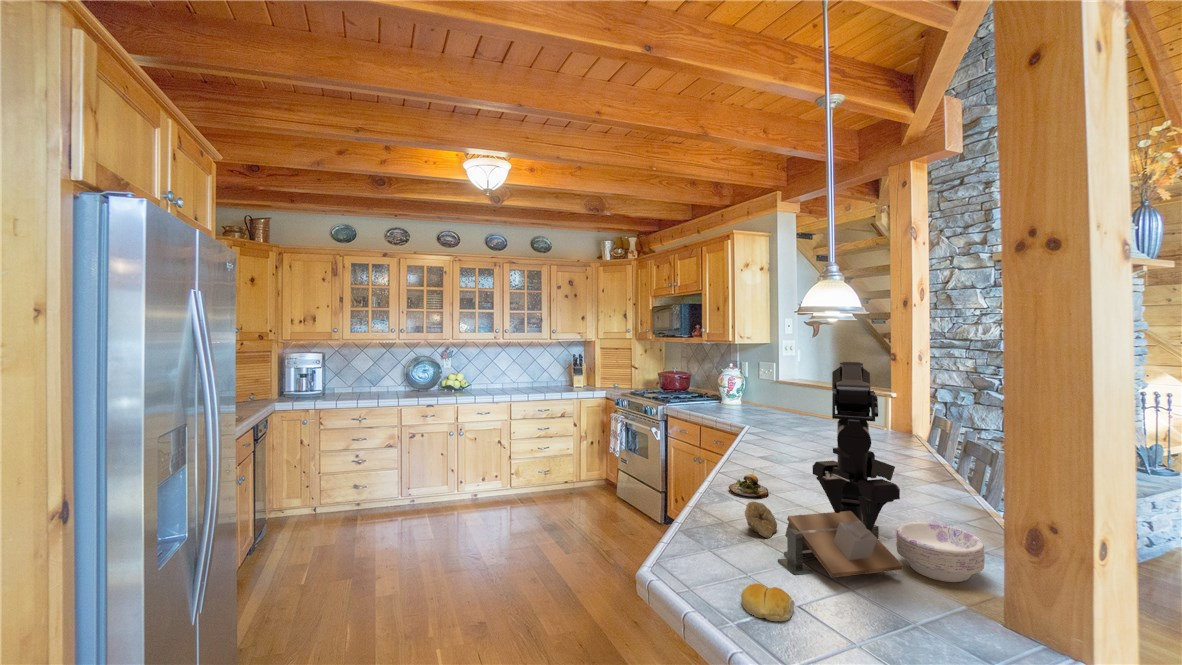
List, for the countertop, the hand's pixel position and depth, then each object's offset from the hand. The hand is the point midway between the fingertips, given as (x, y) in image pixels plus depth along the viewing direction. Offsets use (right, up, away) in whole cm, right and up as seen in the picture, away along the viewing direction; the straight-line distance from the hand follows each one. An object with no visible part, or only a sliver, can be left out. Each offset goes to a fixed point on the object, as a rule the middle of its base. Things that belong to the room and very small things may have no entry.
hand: (852, 520), depth 104 cm
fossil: (-11, -12, +23) cm, 28 cm away
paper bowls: (+19, -12, +2) cm, 22 cm away
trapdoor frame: (-1, -11, +7) cm, 14 cm away
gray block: (0, -6, 0) cm, 6 cm away
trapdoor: (-1, -10, +5) cm, 11 cm away
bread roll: (-22, -12, -12) cm, 28 cm away
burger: (-5, -12, +53) cm, 55 cm away
